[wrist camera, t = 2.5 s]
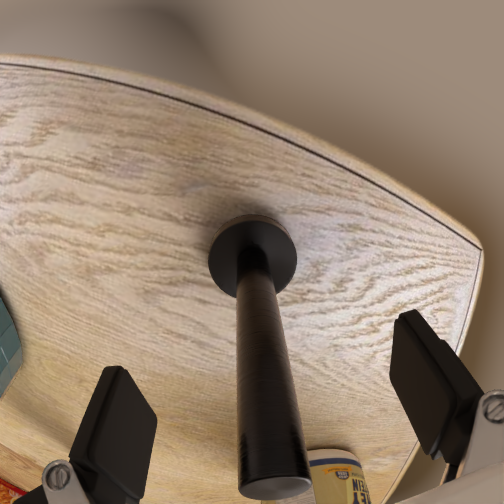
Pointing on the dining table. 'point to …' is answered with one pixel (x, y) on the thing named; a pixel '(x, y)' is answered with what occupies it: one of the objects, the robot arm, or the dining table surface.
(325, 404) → the dining table surface
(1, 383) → the bowl
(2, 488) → the pasta box
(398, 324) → the robot arm
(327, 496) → the supplement tub
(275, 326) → the black post stand
